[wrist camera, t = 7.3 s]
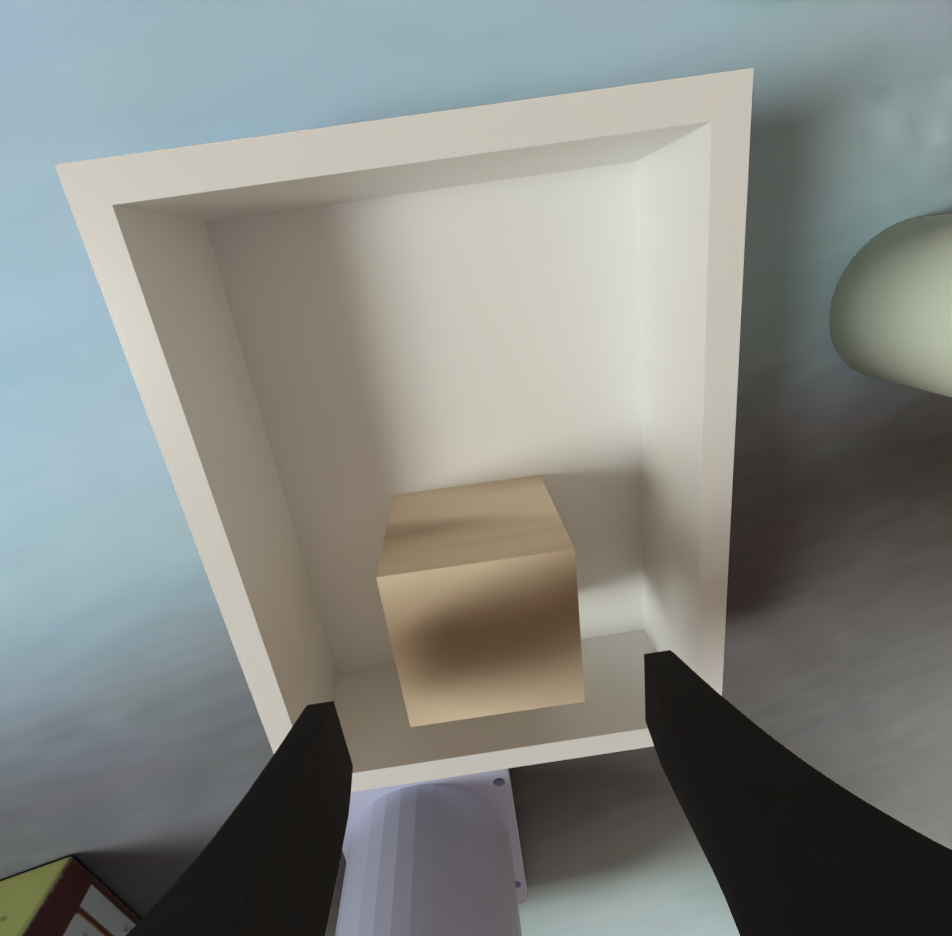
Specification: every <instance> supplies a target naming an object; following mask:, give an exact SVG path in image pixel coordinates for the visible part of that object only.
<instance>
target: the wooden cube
mask: <svg viewBox="0 0 952 936" xmlns="http://www.w3.org/2000/svg"><path fill="white" fill-rule="evenodd" d="M376 579H377V583H378V588H379V592H380V597H381V601H382V605H383V610H384V614H385V618H386V623H387V627H388V632H389V636H390V640H391V645H392V649H393V653H394V658H395V662H396V667H397V671H398V675H399V680H400V684H401V688H402V693H403V697H404V702H405V706H406V710H407V715H408V719H409V724H410V727H415V726H422V725H429V724H435V723H442V722H449V721H456V720H463V719H470V718H476V717H483V716H490V715H497V714H504V713H511V712H517V711H524V710H531V709H538V708H545V707H551V706H558V705H565V704H572V703H579V702H585V696H584V680H583V665H582V650H581V634H580V619H579V604H578V588H577V573H576V558H575V548H574V546H573V544H572V542H571V540H570V538H569V535H568V533H567V531H566V529H565V527H564V525H563V523H562V521H561V518H560V516H559V514H558V512H557V510H556V508H555V506H554V504H553V501H552V499H551V497H550V495H549V493H548V491H547V489H546V487H545V485H544V482H543V480H542V478H541V476H540V475H534V476H527V477H520V478H513V479H506V480H499V481H492V482H485V483H477V484H470V485H463V486H456V487H449V488H442V489H435V490H428V491H421V492H414V493H406V494H399V495H393V498H392V503H391V507H390V512H389V517H388V522H387V527H386V532H385V537H384V541H383V546H382V551H381V556H380V561H379V566H378V571H377V576H376Z"/></svg>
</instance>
